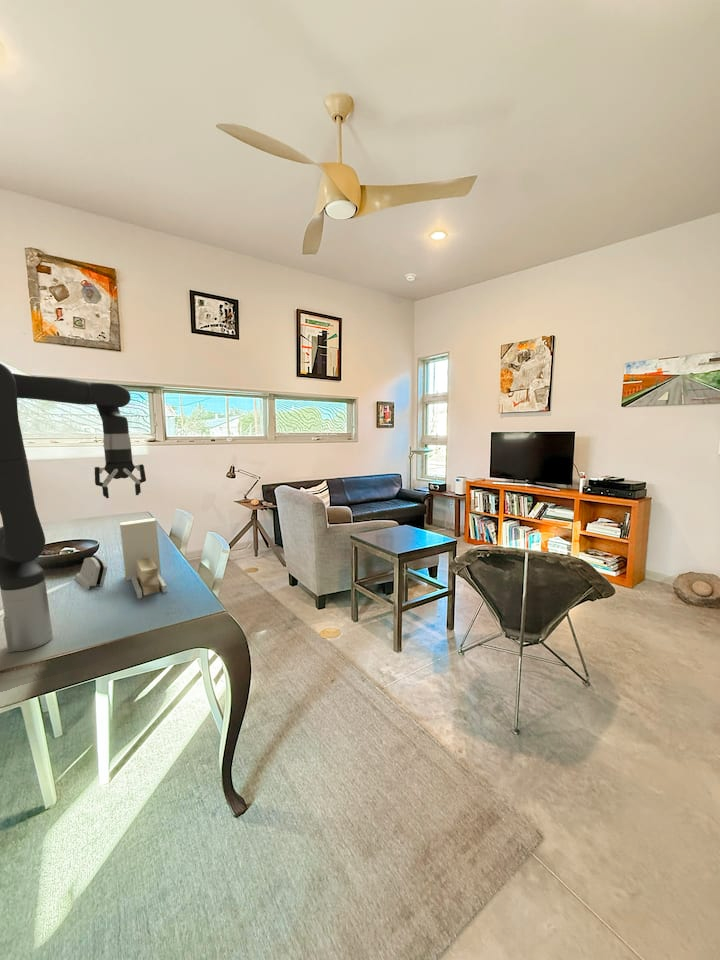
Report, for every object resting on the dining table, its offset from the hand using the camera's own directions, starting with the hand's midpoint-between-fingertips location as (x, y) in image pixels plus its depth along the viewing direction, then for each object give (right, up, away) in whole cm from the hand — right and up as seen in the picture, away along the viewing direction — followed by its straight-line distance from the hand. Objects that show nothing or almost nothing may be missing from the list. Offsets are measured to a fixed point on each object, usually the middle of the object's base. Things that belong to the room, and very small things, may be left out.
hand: (122, 496), depth 128 cm
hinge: (-25, -34, +21) cm, 47 cm away
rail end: (0, -34, +15) cm, 37 cm away
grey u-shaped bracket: (-2, -34, +18) cm, 39 cm away
